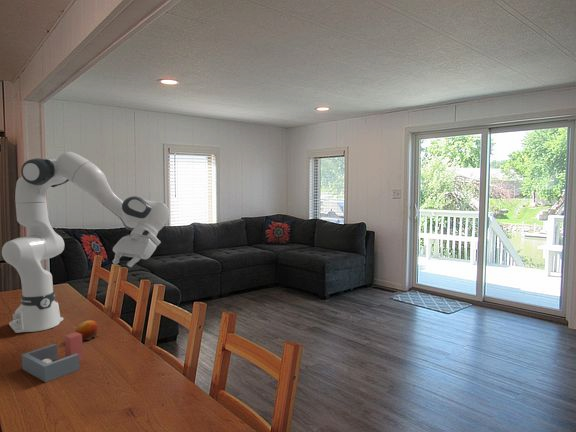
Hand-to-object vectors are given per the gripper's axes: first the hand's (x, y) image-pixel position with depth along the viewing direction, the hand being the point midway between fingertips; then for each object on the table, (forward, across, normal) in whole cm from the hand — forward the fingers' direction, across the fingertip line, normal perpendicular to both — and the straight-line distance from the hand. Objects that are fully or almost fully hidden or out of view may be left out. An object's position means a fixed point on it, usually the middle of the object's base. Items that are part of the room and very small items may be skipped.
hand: (121, 264), depth 155 cm
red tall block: (+35, +2, +6) cm, 36 cm away
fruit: (+26, -14, +16) cm, 34 cm away
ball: (+40, +2, 0) cm, 40 cm away
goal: (+40, +2, +1) cm, 40 cm away
